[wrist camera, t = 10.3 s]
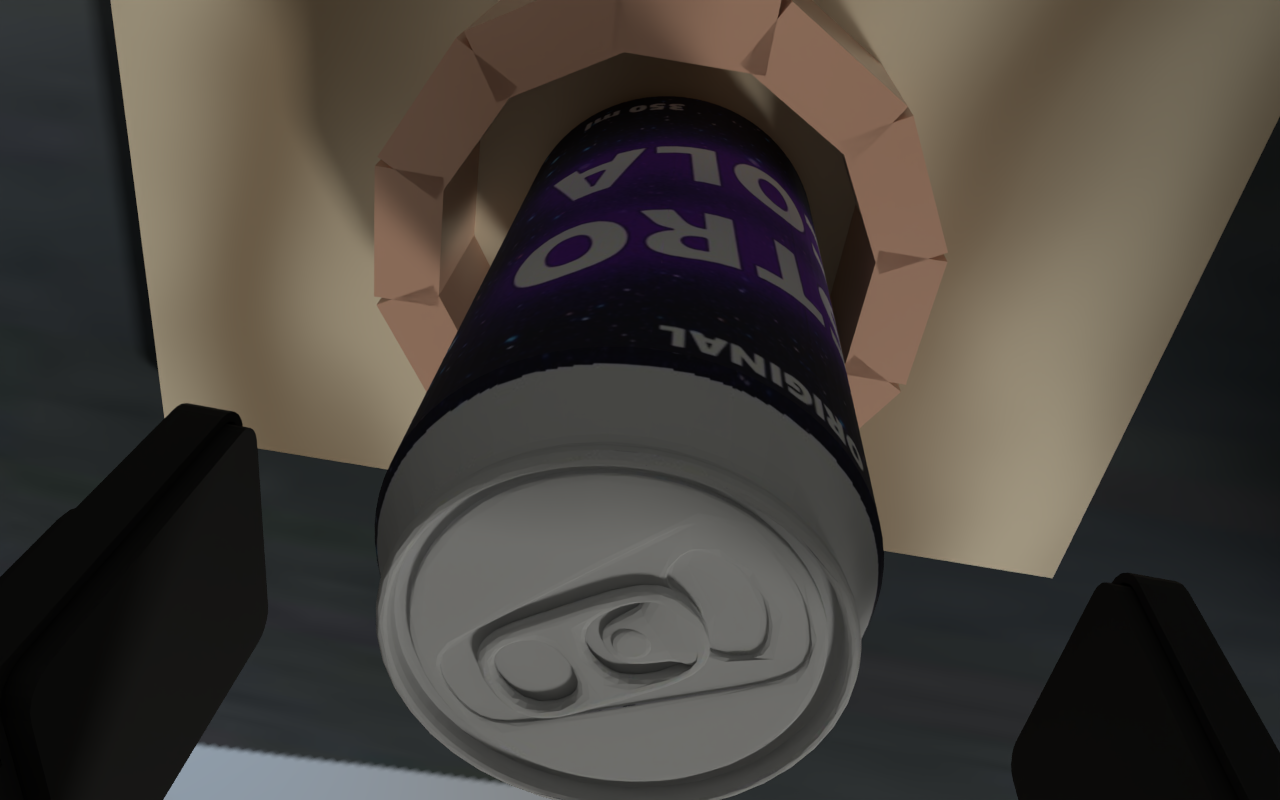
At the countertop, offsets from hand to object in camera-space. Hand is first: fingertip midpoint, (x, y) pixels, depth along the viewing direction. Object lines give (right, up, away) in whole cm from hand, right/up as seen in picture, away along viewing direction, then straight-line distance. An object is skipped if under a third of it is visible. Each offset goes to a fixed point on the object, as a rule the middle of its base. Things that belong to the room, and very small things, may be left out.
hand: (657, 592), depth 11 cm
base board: (0, +7, +10) cm, 12 cm away
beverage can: (0, +6, +9) cm, 11 cm away
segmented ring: (0, +6, +9) cm, 11 cm away
